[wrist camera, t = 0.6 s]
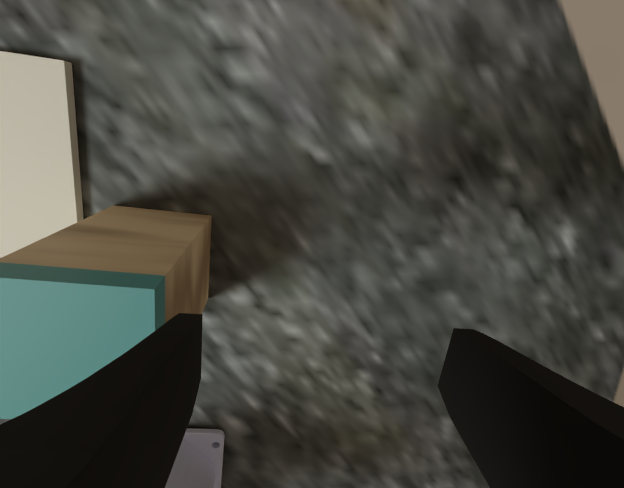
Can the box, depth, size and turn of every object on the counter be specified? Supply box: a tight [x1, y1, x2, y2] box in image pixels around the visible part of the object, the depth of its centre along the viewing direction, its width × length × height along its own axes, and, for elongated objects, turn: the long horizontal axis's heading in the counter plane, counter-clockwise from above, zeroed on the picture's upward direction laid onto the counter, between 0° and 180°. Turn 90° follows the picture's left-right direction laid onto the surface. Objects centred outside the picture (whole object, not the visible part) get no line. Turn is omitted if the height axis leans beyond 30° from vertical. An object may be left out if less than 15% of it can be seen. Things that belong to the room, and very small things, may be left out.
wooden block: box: [0, 205, 212, 419], centre depth 15 cm, size 5×5×9 cm
